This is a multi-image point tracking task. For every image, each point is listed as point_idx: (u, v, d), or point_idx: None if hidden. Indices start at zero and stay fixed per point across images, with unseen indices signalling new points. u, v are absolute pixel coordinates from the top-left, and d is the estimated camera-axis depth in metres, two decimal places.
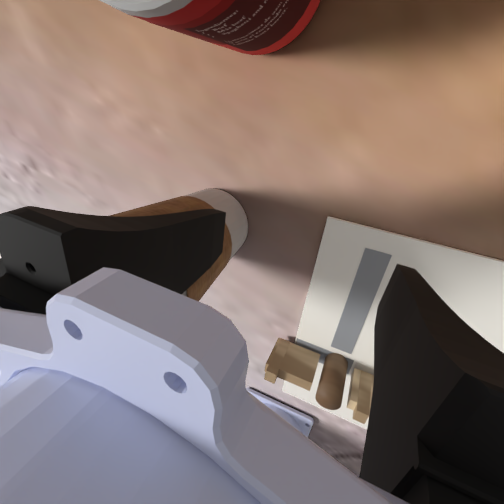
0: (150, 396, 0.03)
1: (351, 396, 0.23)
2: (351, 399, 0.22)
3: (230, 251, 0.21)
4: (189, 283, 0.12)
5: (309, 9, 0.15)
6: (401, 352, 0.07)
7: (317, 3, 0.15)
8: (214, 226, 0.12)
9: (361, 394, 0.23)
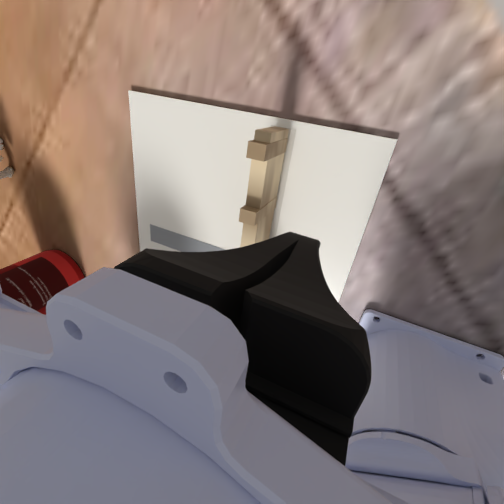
0: (150, 396, 0.03)
1: None
2: None
3: None
4: None
5: (56, 262, 0.34)
6: None
7: (59, 257, 0.35)
8: None
9: None
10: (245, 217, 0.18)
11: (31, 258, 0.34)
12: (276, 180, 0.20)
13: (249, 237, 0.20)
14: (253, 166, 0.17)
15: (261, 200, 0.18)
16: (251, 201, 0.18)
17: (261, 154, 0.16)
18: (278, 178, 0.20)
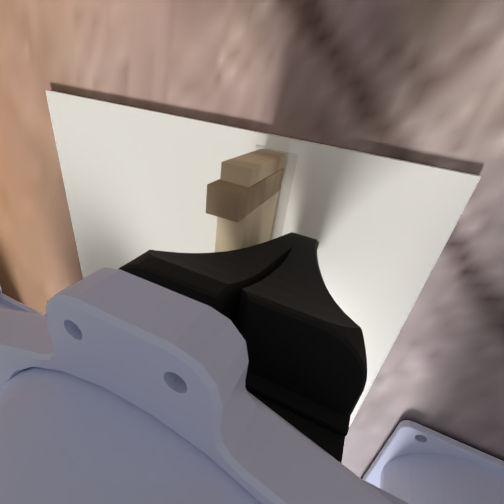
0: (150, 396, 0.03)
1: None
2: None
3: None
4: None
5: None
6: None
7: None
8: None
9: None
10: None
11: None
12: (265, 235, 0.12)
13: None
14: (221, 224, 0.10)
15: None
16: None
17: (232, 209, 0.08)
18: (269, 230, 0.12)
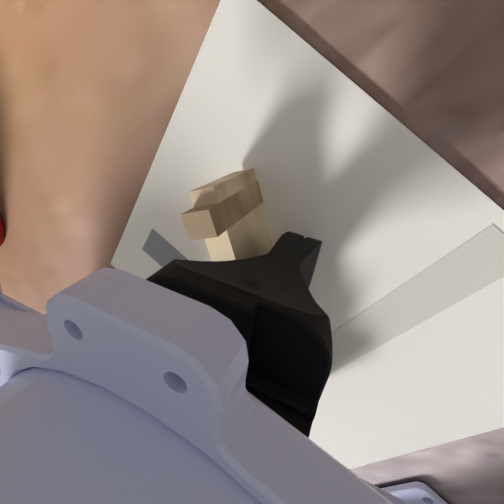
0: (150, 396, 0.03)
1: None
2: None
3: None
4: None
5: None
6: None
7: None
8: (315, 258, 0.11)
9: None
10: None
11: None
12: (266, 247, 0.12)
13: None
14: (211, 246, 0.10)
15: None
16: None
17: (208, 227, 0.09)
18: (268, 242, 0.13)
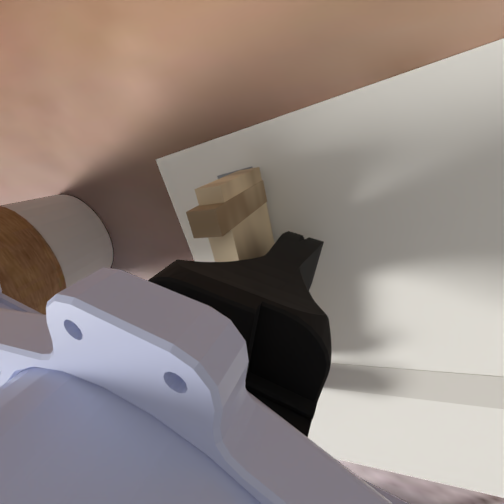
0: (150, 396, 0.03)
1: None
2: None
3: (50, 257, 0.15)
4: None
5: None
6: None
7: None
8: (316, 258, 0.11)
9: None
10: None
11: None
12: (268, 247, 0.12)
13: None
14: (215, 245, 0.10)
15: None
16: None
17: (213, 226, 0.09)
18: (270, 242, 0.13)
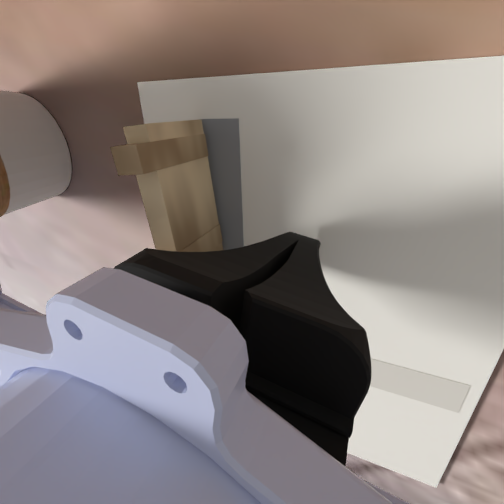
0: (150, 396, 0.03)
1: None
2: None
3: None
4: None
5: None
6: None
7: None
8: None
9: None
10: None
11: None
12: (206, 201, 0.13)
13: None
14: (143, 187, 0.10)
15: (174, 238, 0.11)
16: (161, 243, 0.11)
17: (135, 163, 0.09)
18: (210, 197, 0.13)
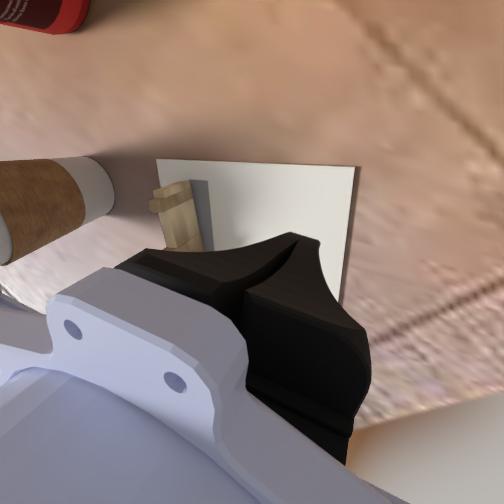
0: (150, 396, 0.03)
1: None
2: None
3: (80, 199, 0.25)
4: None
5: None
6: None
7: None
8: None
9: None
10: None
11: None
12: (192, 221, 0.24)
13: None
14: (161, 217, 0.22)
15: (176, 240, 0.23)
16: (169, 243, 0.23)
17: (158, 208, 0.21)
18: (194, 219, 0.25)
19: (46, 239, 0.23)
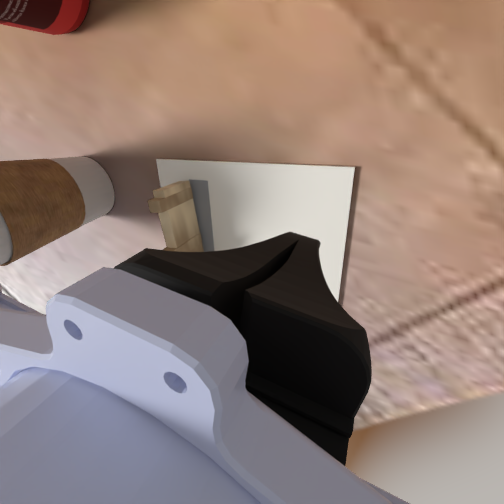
0: (150, 396, 0.03)
1: None
2: None
3: (80, 199, 0.25)
4: None
5: None
6: None
7: None
8: None
9: None
10: None
11: None
12: (192, 221, 0.24)
13: None
14: (161, 217, 0.22)
15: (176, 240, 0.23)
16: (169, 243, 0.23)
17: (158, 208, 0.21)
18: (194, 219, 0.25)
19: (46, 239, 0.23)
